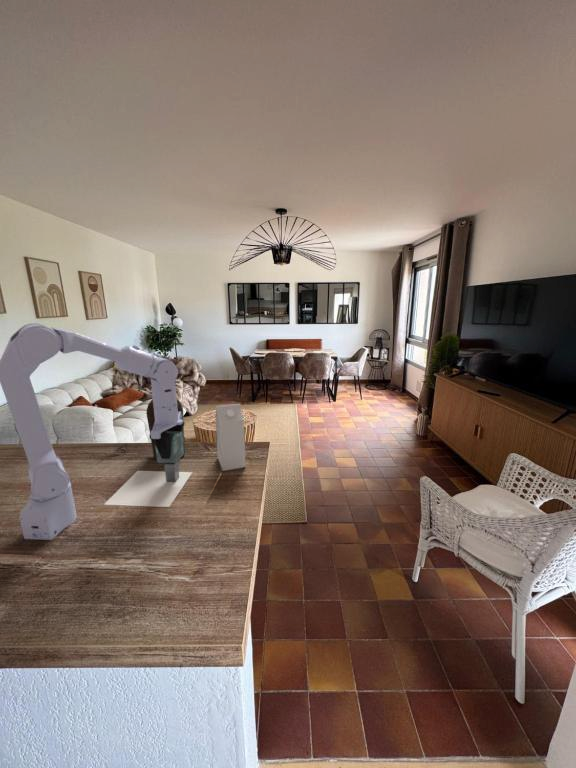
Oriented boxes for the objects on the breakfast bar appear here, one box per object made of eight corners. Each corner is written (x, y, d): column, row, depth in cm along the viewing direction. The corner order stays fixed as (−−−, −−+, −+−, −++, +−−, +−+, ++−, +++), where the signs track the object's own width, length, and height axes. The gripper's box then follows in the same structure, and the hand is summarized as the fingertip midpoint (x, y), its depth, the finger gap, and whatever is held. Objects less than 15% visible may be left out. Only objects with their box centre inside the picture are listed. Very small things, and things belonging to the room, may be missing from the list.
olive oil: (144, 461, 101) (134, 383, 95) (167, 447, 111) (159, 375, 105) (172, 466, 98) (164, 386, 92) (193, 451, 108) (187, 378, 101)
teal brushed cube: (176, 463, 85) (174, 439, 83) (157, 462, 85) (154, 439, 83) (184, 453, 90) (182, 431, 88) (165, 453, 90) (163, 431, 88)
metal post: (175, 482, 87) (173, 464, 86) (166, 482, 88) (164, 464, 86) (179, 477, 90) (177, 459, 89) (170, 477, 90) (168, 459, 89)
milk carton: (217, 461, 101) (214, 402, 97) (240, 457, 104) (238, 400, 99) (221, 471, 95) (218, 410, 90) (245, 467, 97) (243, 407, 93)
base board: (169, 511, 77) (169, 506, 77) (104, 508, 78) (103, 504, 78) (192, 476, 93) (192, 472, 92) (138, 474, 94) (137, 470, 93)
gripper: (168, 414, 76) (174, 466, 80) (190, 396, 90) (194, 441, 94) (139, 413, 77) (146, 466, 80) (165, 396, 91) (170, 441, 94)
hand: (170, 453), depth 87 cm, fingers closed on teal brushed cube, 5 cm apart
